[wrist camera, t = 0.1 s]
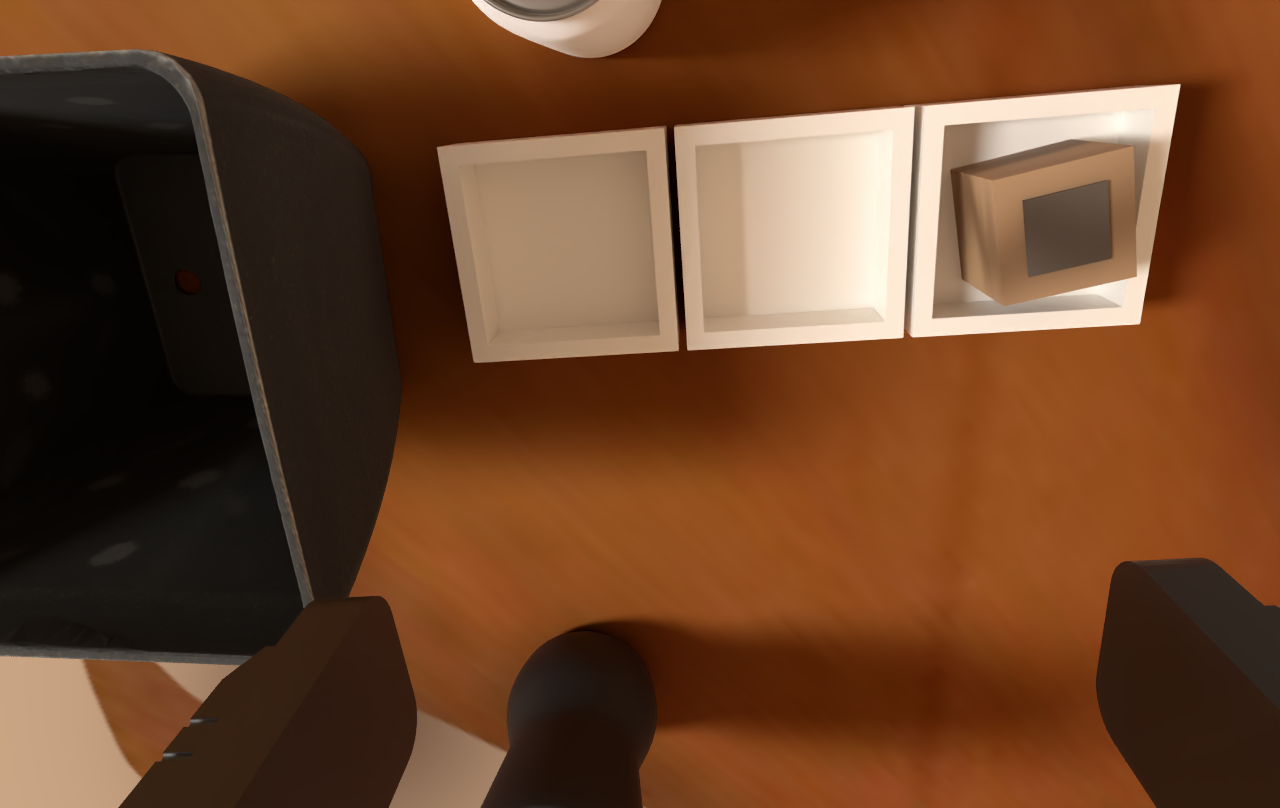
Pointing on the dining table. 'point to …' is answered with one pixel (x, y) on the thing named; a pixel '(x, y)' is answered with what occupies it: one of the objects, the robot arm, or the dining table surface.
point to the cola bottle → (577, 727)
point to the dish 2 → (795, 227)
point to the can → (574, 23)
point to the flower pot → (182, 360)
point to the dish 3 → (1005, 129)
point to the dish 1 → (564, 244)
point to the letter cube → (1047, 220)
